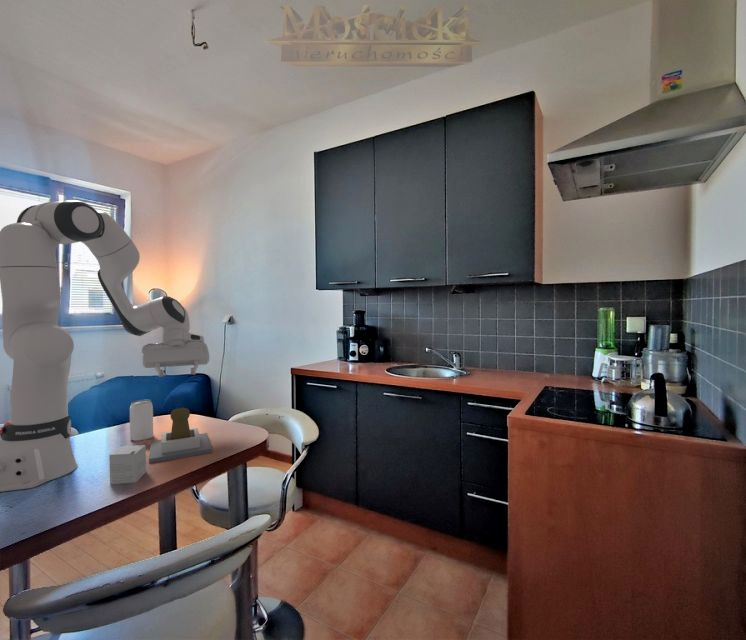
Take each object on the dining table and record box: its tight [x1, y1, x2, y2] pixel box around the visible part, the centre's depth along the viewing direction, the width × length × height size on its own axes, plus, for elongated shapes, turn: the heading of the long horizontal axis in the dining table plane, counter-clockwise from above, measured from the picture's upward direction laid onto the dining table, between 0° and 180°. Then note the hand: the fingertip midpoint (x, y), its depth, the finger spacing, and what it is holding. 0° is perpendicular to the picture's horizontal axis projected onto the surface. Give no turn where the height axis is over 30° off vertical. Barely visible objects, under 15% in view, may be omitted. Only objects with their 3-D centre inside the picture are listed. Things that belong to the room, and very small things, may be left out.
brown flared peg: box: [170, 407, 191, 440], centre depth 115 cm, size 6×6×11 cm
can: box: [129, 399, 154, 442], centre depth 124 cm, size 6×6×12 cm
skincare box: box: [109, 444, 147, 485], centre depth 95 cm, size 6×6×7 cm
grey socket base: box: [148, 427, 213, 464], centre depth 115 cm, size 16×16×4 cm
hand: (177, 374), depth 126 cm, fingers open, 8 cm apart
